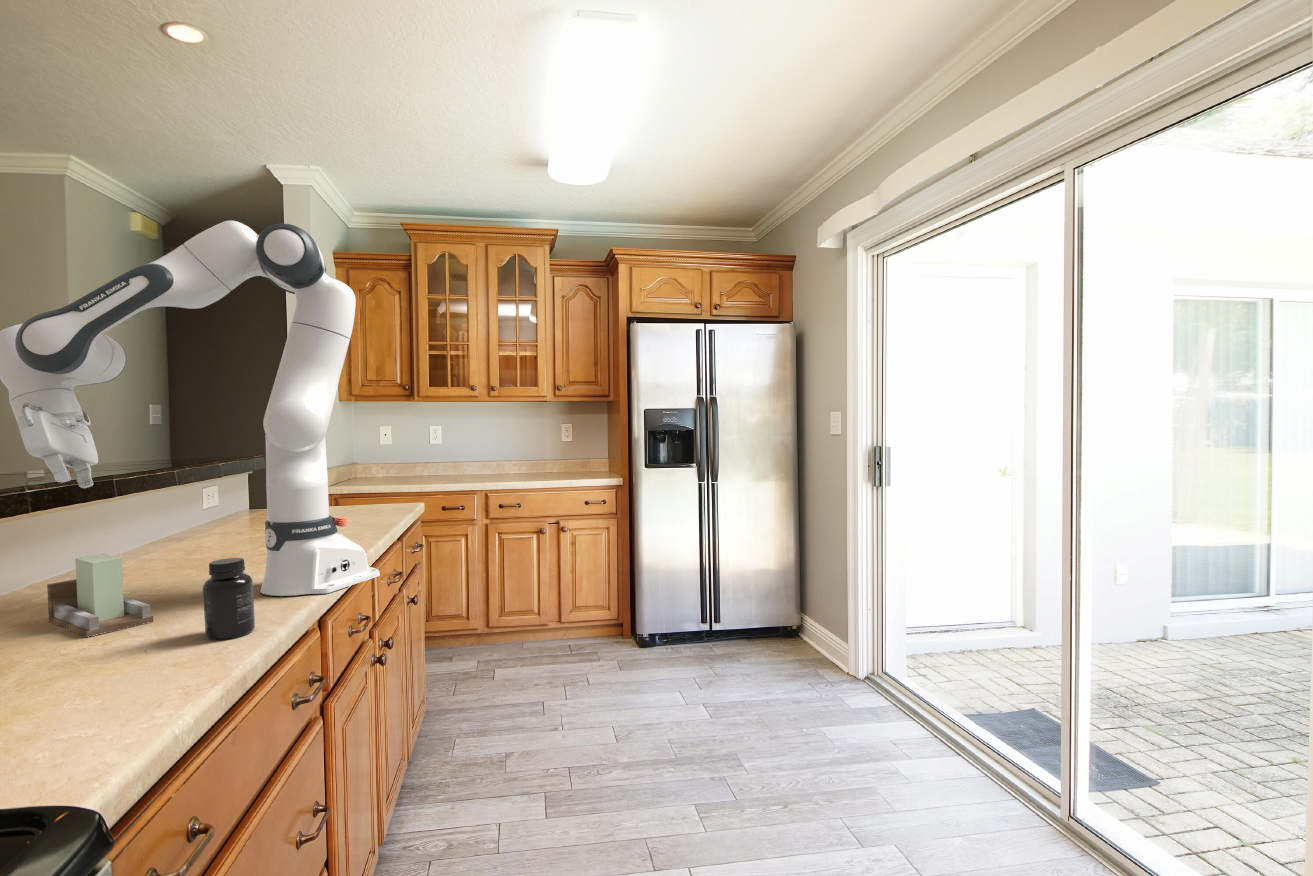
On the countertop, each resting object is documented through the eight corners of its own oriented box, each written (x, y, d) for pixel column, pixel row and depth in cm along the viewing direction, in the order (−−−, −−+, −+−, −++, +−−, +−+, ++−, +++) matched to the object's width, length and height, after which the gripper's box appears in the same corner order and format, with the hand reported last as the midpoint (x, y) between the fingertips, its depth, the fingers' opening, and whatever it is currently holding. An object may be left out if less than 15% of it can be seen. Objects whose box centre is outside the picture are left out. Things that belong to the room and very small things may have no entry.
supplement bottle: (249, 623, 112) (246, 554, 111) (259, 633, 107) (257, 560, 106) (200, 633, 107) (197, 560, 107) (209, 644, 102) (206, 567, 102)
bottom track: (49, 621, 114) (47, 584, 113) (112, 607, 121) (111, 572, 121) (87, 637, 106) (85, 597, 105) (153, 621, 113) (151, 584, 113)
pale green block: (78, 615, 114) (75, 558, 113) (106, 609, 117) (104, 553, 117) (95, 622, 110) (92, 563, 110) (124, 615, 114) (121, 558, 113)
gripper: (42, 394, 111) (72, 470, 110) (92, 418, 129) (117, 483, 129) (-5, 406, 108) (25, 484, 108) (52, 429, 127) (78, 495, 126)
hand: (76, 484), depth 119 cm, fingers open, 8 cm apart
